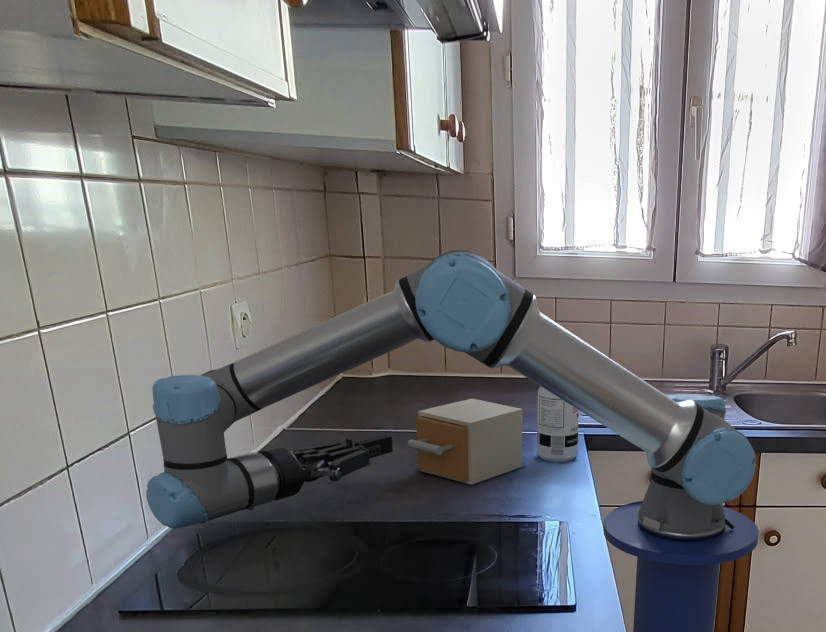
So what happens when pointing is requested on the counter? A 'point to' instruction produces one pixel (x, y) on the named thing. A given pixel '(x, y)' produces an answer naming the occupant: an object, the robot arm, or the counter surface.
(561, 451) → the supplement can
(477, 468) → the cabinet
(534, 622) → the counter surface
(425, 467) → the drawer
